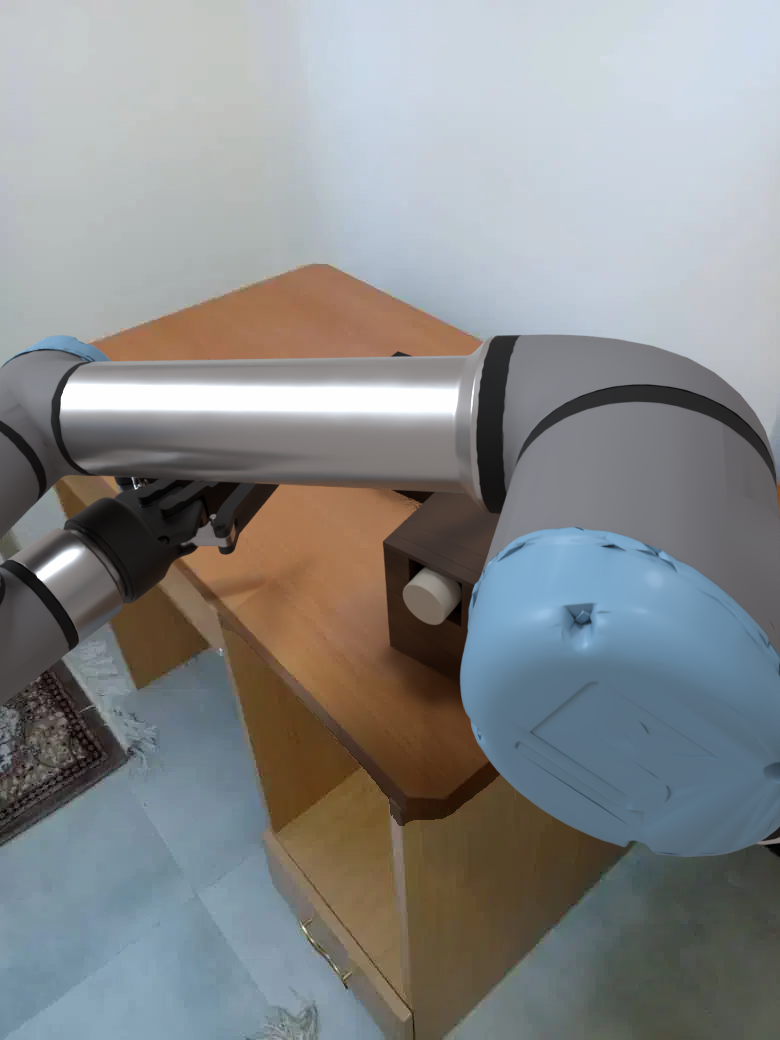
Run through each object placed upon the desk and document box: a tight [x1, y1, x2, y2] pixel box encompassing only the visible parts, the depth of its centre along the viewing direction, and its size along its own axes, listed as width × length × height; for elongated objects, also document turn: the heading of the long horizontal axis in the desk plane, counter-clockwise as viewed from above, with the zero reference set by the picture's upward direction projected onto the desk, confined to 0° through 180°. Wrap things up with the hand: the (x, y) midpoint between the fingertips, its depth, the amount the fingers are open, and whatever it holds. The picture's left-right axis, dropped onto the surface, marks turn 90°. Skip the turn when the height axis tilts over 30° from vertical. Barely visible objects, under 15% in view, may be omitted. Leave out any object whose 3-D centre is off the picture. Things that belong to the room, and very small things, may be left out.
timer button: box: [403, 566, 462, 625], centre depth 63 cm, size 4×3×4 cm, turn 53°
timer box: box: [382, 492, 501, 685], centre depth 68 cm, size 10×10×13 cm
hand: (308, 411), depth 70 cm, fingers closed
